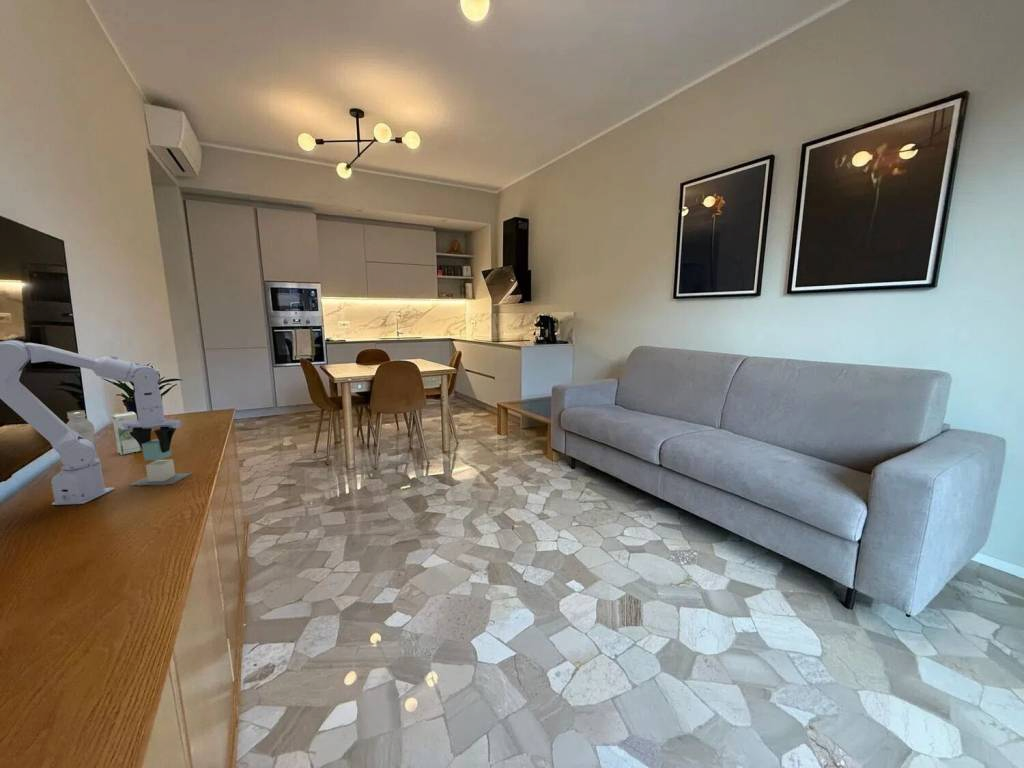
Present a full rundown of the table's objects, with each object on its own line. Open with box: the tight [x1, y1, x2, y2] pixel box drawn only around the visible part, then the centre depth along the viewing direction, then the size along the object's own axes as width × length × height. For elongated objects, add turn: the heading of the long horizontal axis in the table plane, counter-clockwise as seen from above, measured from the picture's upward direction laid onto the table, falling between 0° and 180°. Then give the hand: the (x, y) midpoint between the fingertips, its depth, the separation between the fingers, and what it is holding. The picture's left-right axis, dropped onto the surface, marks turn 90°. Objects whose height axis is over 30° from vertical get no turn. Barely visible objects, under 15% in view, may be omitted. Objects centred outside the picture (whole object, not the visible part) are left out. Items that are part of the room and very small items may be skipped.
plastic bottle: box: [65, 409, 102, 464], centre depth 128 cm, size 6×7×20 cm
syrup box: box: [111, 411, 143, 456], centre depth 149 cm, size 6×6×14 cm
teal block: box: [142, 438, 172, 461], centre depth 123 cm, size 4×4×5 cm
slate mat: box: [128, 472, 192, 487], centre depth 124 cm, size 8×12×1 cm, turn 94°
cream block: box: [145, 459, 176, 482], centre depth 124 cm, size 4×4×5 cm
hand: (156, 451), depth 122 cm, fingers closed on teal block, 4 cm apart
